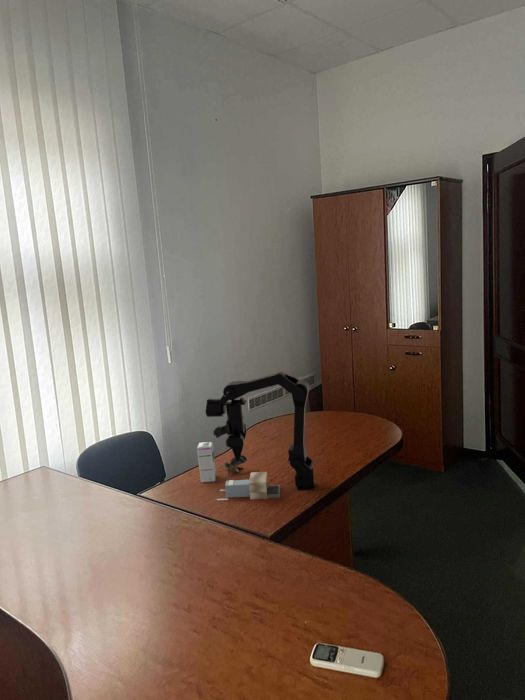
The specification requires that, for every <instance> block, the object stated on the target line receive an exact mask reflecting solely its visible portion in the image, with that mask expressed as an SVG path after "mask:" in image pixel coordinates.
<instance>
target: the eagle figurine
mask: <svg viewBox="0 0 525 700" xmlns="http://www.w3.org/2000/svg"><path fill="white" fill-rule="evenodd" d="M247 460H248V459H247V457H246V456H245V455H242V454H241V456H240V460H239V461H236V459H235V457H233V458H231V460H230V462H229V463H228V462H227V461H225V462H223V463H222V467H223V468H226V469H225V471H227V472H228V473H227V476H229V475H230V474H231V472H232V470H233V471H235V472H237V473H240V469H243V467H241V466H239V465H242V464H244V463H246V462H247ZM238 468H239V469H238Z"/></svg>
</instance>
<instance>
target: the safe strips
mask: <svg viewBox="0 0 525 700" xmlns="http://www.w3.org/2000/svg"><path fill="white" fill-rule="evenodd" d="M219 492H226V491H225V489H219ZM216 501H218V502H219V501H229V498H217V499H216Z"/></svg>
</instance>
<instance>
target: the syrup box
mask: <svg viewBox="0 0 525 700" xmlns="http://www.w3.org/2000/svg"><path fill="white" fill-rule="evenodd" d="M196 451H197V452H196V453H197V459H198V470H199V471H198V472H199V478H200V483H210V482H211V483H212V482H216V479H217V467H216V459H215V452H214V451H215V449H214V443H213V441H205V442H204V441H203V442H198V445H197V447H196Z"/></svg>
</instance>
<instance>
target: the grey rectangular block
mask: <svg viewBox="0 0 525 700" xmlns="http://www.w3.org/2000/svg"><path fill="white" fill-rule="evenodd" d="M249 480H250V479H238V480H237V479H235V480H234V479H230V480H226V481H225V485H224V490H225V491H224V492H225V499H227V498H228V499H229V498H242V497H243V498H245V497H246V498H248V497H250V490H249Z"/></svg>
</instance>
